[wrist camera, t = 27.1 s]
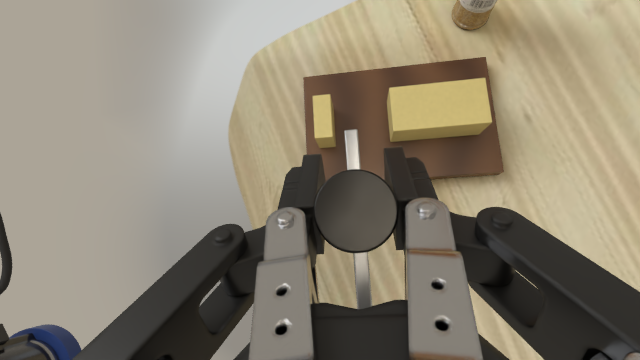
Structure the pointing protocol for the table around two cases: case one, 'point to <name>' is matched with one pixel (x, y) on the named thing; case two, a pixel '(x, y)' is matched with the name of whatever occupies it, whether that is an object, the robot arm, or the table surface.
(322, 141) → the butter pat
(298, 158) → the table surface
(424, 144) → the butter board
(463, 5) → the sprinkles bottle
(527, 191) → the table surface
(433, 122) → the butter block
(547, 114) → the table surface
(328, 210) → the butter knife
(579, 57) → the table surface
